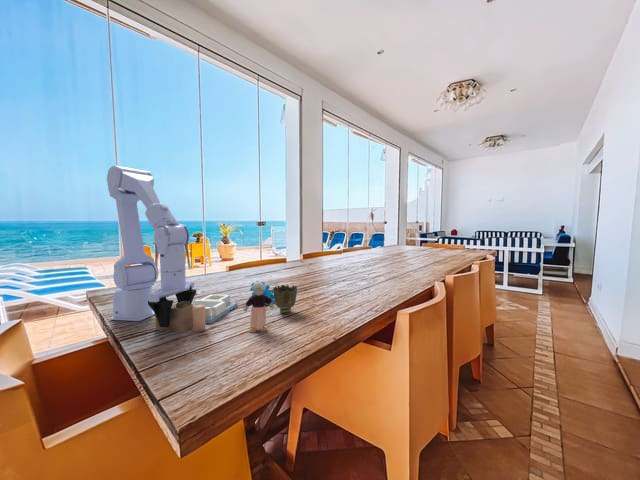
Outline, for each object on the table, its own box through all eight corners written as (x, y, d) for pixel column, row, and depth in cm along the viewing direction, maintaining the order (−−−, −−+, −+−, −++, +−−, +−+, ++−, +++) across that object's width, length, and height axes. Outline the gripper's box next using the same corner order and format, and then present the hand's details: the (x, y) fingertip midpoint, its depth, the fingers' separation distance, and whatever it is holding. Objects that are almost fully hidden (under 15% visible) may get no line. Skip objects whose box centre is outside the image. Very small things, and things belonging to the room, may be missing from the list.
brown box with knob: (155, 330, 67) (154, 303, 67) (166, 324, 71) (165, 299, 71) (183, 331, 66) (182, 305, 66) (193, 326, 70) (192, 300, 70)
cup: (268, 314, 79) (268, 288, 78) (281, 307, 85) (280, 283, 85) (290, 318, 76) (289, 291, 75) (301, 310, 83) (301, 285, 82)
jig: (171, 321, 73) (171, 308, 73) (204, 304, 89) (204, 294, 89) (211, 323, 72) (210, 310, 72) (237, 306, 88) (237, 295, 87)
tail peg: (190, 331, 67) (189, 308, 66) (197, 326, 70) (196, 304, 69) (201, 331, 66) (200, 308, 66) (207, 327, 69) (207, 305, 69)
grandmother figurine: (246, 335, 64) (245, 284, 63) (243, 330, 67) (242, 281, 66) (276, 329, 67) (275, 281, 67) (271, 324, 71) (271, 278, 70)
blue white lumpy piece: (261, 304, 84) (247, 280, 88) (250, 315, 86) (238, 291, 90) (283, 300, 93) (270, 279, 97) (273, 310, 95) (261, 288, 99)
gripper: (166, 276, 60) (169, 333, 61) (203, 266, 75) (204, 312, 75) (140, 275, 61) (142, 331, 62) (181, 266, 76) (182, 311, 76)
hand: (174, 321), depth 69 cm, fingers open, 7 cm apart
